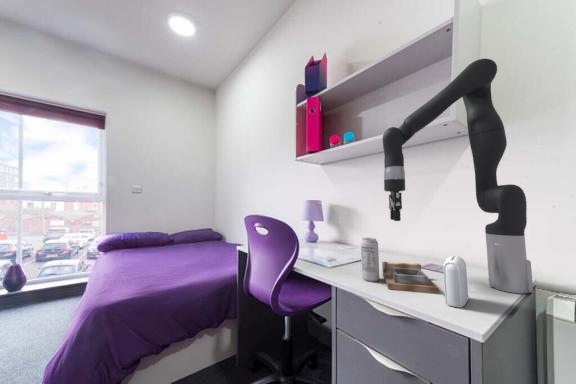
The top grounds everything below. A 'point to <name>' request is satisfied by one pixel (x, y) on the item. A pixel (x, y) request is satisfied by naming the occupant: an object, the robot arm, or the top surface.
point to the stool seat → (409, 280)
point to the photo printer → (455, 281)
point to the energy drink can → (369, 259)
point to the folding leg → (399, 266)
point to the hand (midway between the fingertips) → (395, 220)
